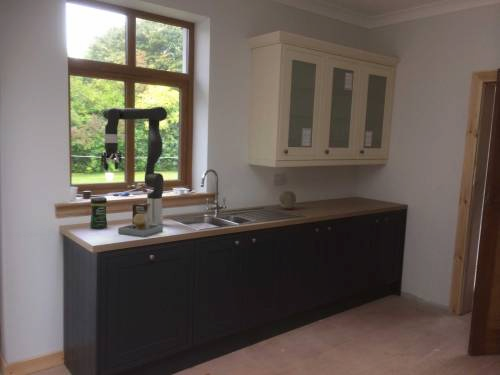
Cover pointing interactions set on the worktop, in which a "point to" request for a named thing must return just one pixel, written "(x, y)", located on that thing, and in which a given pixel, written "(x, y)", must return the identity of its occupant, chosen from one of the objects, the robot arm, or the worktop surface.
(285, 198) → the cantaloupe
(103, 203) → the coffee jar
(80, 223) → the worktop surface
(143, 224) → the coffee box
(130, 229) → the tray
